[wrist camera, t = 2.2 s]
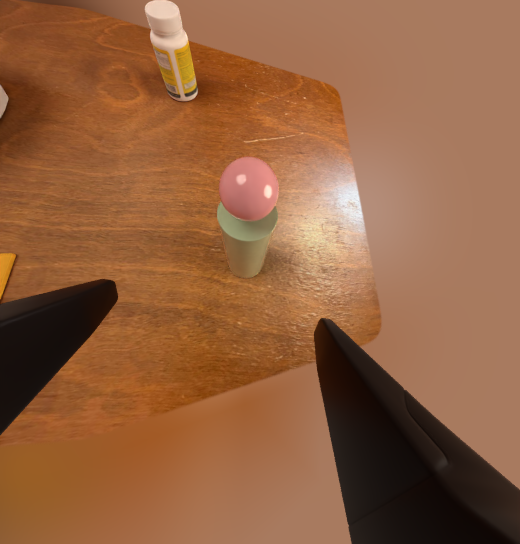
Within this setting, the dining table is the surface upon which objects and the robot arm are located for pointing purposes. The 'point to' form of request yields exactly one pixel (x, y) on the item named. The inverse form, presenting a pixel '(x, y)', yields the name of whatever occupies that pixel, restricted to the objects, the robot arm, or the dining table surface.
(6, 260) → the cloth
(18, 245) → the dining table surface
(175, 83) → the supplement bottle
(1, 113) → the bowl
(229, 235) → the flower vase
